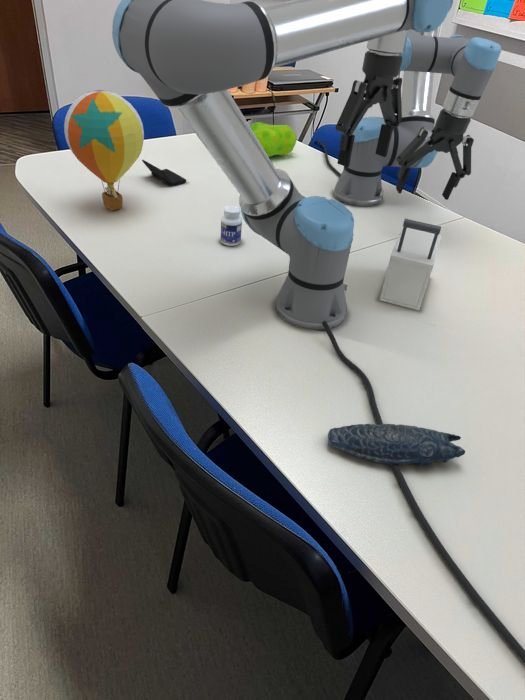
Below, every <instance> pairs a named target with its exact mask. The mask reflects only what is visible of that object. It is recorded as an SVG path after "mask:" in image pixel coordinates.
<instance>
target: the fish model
mask: <svg viewBox="0 0 525 700" xmlns="http://www.w3.org/2000/svg"><path fill="white" fill-rule="evenodd" d="M327 438H328V439H327V440H328V441H327V445H328V446H330V447H333V448H335V449H339V450H341V451H342V452H343V453H346V452H347V453H348V454H349V455H351V456H356V457H357V458H360V459H366V460H369V461H374V462H376V463H380V464H387V465H391V464H396V465H399V466H401V465H409V464H416V465H419V466H427V465H428V464H429V463H433V462H437V461H440V462H441V463H447V462H448V461H449V460H451V459H452V460H453V459H454V458H460V457H463V456H464V455H465V454H466V450H465V449H464V448H462V447H461V446H460V445H457V444H455V443H453V442H456V441H460V440H461V439H462V437H461V436H460V435H456V434H454V433H449V432H443V431H438V430H435V429H431V428H426V427H421V426H420V427H419V426H416V425H407V424H394V423H383V424H377V423H376V424H374V423H373V424H372V423H364V424H363V423H358V424H351V425H344V426H340V427H333V428H330V429H329V431H328V432H327Z"/></svg>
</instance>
